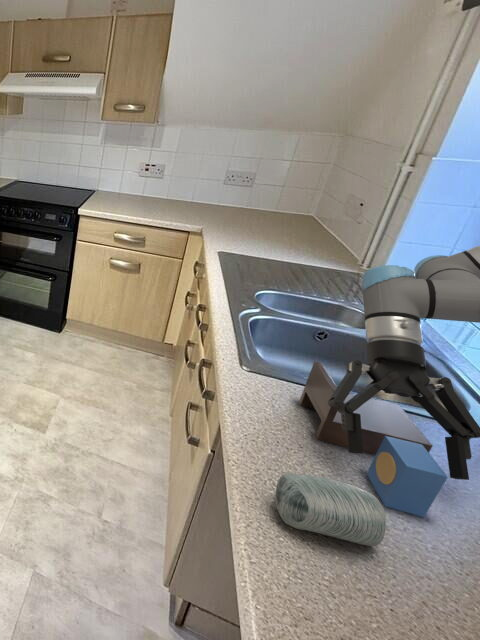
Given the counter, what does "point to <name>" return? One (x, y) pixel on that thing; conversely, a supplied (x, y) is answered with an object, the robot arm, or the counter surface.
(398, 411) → the shelf
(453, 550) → the counter surface
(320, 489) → the spool
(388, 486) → the box
